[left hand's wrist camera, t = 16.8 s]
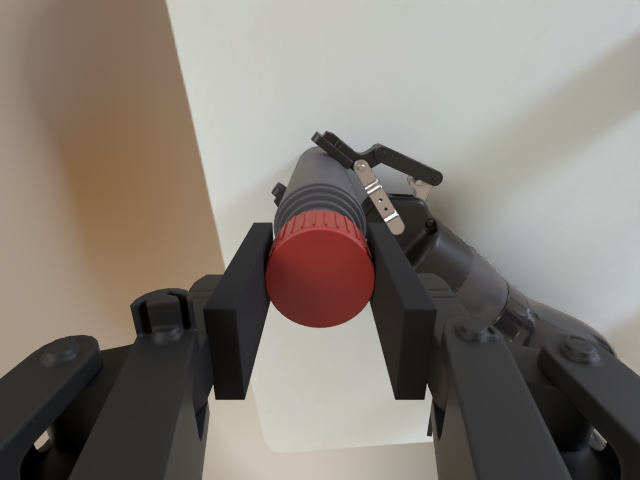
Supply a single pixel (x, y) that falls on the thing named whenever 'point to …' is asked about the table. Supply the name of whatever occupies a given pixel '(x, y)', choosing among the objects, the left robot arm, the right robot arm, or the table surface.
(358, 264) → the cap
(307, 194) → the bottle
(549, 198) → the table surface
